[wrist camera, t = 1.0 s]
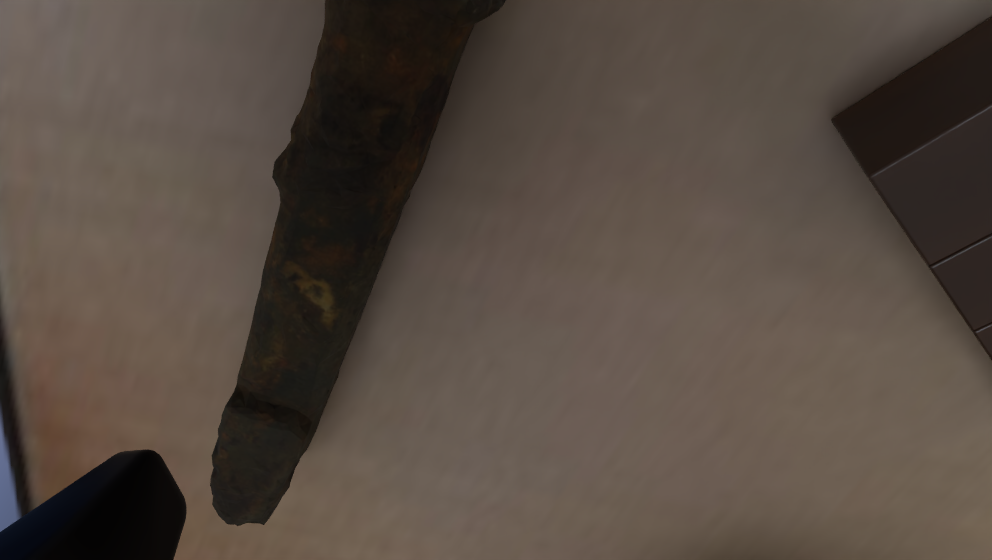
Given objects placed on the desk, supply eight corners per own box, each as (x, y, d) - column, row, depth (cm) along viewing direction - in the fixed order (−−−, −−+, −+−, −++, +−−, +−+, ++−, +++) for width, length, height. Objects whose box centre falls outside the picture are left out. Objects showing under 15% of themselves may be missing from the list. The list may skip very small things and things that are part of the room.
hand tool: (366, -113, 18) (296, -85, 14) (522, -35, 19) (496, 12, 15) (203, 420, 28) (136, 521, 25) (307, 463, 29) (257, 569, 25)
